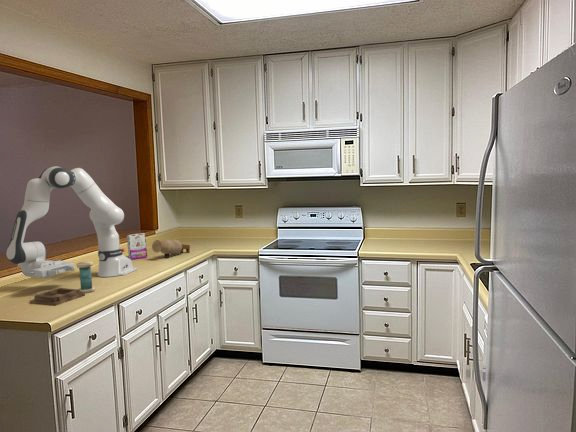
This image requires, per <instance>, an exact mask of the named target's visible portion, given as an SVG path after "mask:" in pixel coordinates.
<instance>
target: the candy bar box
mask: <svg viewBox="0 0 576 432" xmlns="http://www.w3.org/2000/svg"><path fill="white" fill-rule="evenodd" d="M126 242H127V251H128V258H129V259H130V260H131V261H133V260H141V259H147V258H148V250H147V248H148V247H147V240H146V233H144V232H140V233H133V234H127V235H126Z"/></svg>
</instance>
